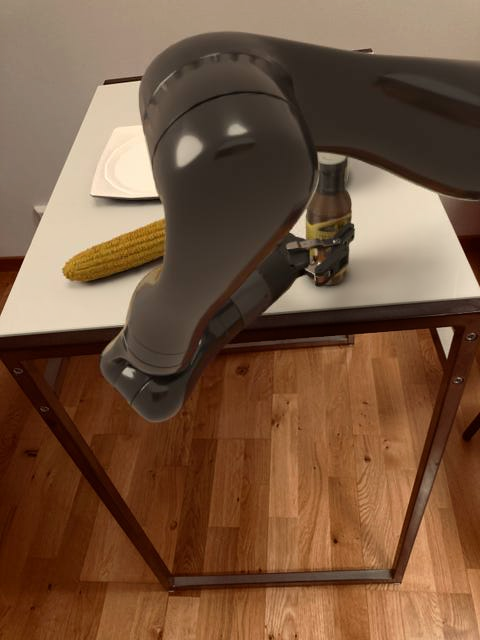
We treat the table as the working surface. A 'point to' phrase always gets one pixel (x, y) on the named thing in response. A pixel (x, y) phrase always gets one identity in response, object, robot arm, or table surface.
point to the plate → (125, 167)
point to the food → (118, 253)
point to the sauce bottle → (329, 204)
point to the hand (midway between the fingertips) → (325, 217)
